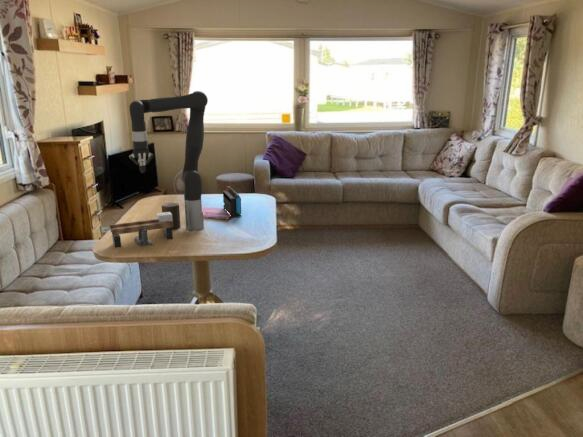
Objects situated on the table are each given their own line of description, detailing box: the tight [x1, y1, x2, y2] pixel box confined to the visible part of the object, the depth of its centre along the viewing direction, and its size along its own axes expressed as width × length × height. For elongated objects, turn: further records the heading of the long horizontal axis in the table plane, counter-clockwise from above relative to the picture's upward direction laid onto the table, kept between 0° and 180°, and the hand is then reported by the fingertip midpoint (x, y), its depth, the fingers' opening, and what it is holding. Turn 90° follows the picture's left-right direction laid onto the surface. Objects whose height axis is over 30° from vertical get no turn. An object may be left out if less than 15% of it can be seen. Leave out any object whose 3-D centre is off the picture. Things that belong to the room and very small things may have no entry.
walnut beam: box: [109, 218, 173, 235], centre depth 241 cm, size 30×9×3 cm, turn 118°
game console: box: [222, 185, 242, 218], centre depth 292 cm, size 28×6×15 cm, turn 21°
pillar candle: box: [161, 202, 181, 231], centre depth 263 cm, size 10×10×15 cm
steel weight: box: [155, 212, 173, 223], centre depth 245 cm, size 7×5×5 cm
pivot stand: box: [111, 227, 174, 249], centre depth 242 cm, size 29×14×10 cm, turn 118°
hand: (142, 172), depth 251 cm, fingers closed
